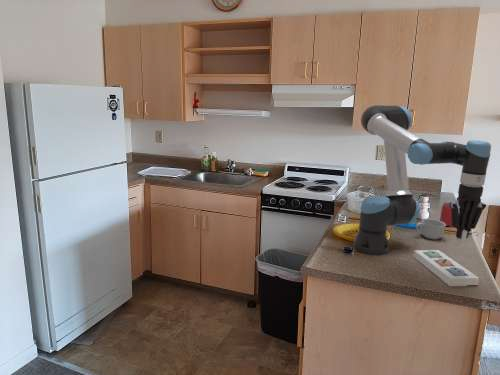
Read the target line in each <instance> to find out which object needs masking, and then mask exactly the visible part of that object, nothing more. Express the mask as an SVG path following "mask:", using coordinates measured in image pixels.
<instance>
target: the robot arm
mask: <svg viewBox="0 0 500 375" xmlns="http://www.w3.org/2000/svg"><path fill="white" fill-rule="evenodd" d="M412 121H413V120H412V115H411V112H410V110H409V109H408V108H406V106H401V105H400V106H399V105H396V104H395V105H381V104H380V105H371V106H369V107H367V108H366V109H365V110H364V111H363V113H362V114H361V117H360V123H361V126H362V128H363V129H364V130H365V131H366V132H367V133H368V134H370V135H373V136H378V137H380V139H382V140H383V145H384V146H383V147H384V156H385V167H386V177H387V179H386V180H387V190H388V191H387V192H386V194H385V195H384V196H383V195H371V196H370V195H369V196H367V197H365V198H363V200H362V202H361V206H360V215H359V217H360V218H359V223H358V224H359V226H358V231H357V234H356V236H355V238H354V240H353V244H352V245H353V248H354V249H355V250H356V251H359V252H360V253H363V254H367V255H374V256H375V255H376V256H377V255H378V256H379V255H385V254H387V253H388V252H389V247H390V246H389V241H388V237H387V228H388V226H398V225H407V224H413V223H414V222H415V221H417V219H418V218H419V216H420V213H421V212H420V211H421V206H420V203H419V201H418V200H417V199H416V198H414V196H413V194H414V193H413V192H412V191H410V188H409V189H408V187H409V186H408V178H407V176H408V170H407V159H406V154H407V158H408V160H409V161H410V162H409V163H412V164H413V165H422V166H423V165H433V164H434V165H435V164H438V165H441V164H455V165H458V166H462V168H461V174H460V180H459V182H460V184H458V185H459V186H458V191H457V193H458V196H457V198H456V200H455V201H454V202H449V203H450V204H449V205H450V207H451V212H452V227H453V228H455V229H456V233H455V237H456V238H457V239H456V242H455V245H456V246H458V247H459V248H461V249H462V248H465V246H466V240H467V239H468V238H469V233H470V232H471V231H472V230H474V229H476V227H477V224H478V222H479V220H480V218H481V215H482V214H483V211H484V210H485V209H486V208H487V204H485V203H484V202H482V199H481V197H482V196H483V193H484V185H485V182H486V176H487V170H488V166H489V162H490V157H491V150H492V144H491V143H490V142H489V141H484V140H473V139H472V140H467V142H466V144H464V143H457V142H454V141H442V142H428V141H427V140H424V138H421V137H419V135H416V134H414V133H412V132H411V131H409V129H410V128H411V125H412V123H413V122H412Z"/></svg>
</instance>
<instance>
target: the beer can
mask: <svg viewBox="0 0 500 375" xmlns="http://www.w3.org/2000/svg"><path fill="white" fill-rule="evenodd" d="M449 204H450V202H444V203H443V205H442V206H441V211H440V219H439V221H442V222H444V223H445V224H446V226H452V212H451V207H450V205H449ZM452 227H453V226H452Z"/></svg>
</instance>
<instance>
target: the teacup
mask: <svg viewBox="0 0 500 375" xmlns="http://www.w3.org/2000/svg"><path fill="white" fill-rule="evenodd" d="M420 226H421V227H420ZM445 226H446V224H445V223H444V222H442V221H440V219H435V218H423V219H421V222H417V223H416V224H415V229H416V230H417V231H418V232H419V233H420V234H421V235H422V236H424V237H425V238H426V239H429V240H439V239H441V238H442V237H443V236H444V234H445V229H446V227H445ZM419 227H420V228H419Z"/></svg>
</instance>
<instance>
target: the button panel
mask: <svg viewBox="0 0 500 375" xmlns="http://www.w3.org/2000/svg"><path fill="white" fill-rule="evenodd" d="M427 251H435V252H438V253H439V254H440V257H439V258H429V257H428V256H427V255H426V254H427ZM413 258H414V259H415V260H417V261H418V262H419V263H420V264H422V265H423V266H424V267H425V268H427V269H428V270H429V271H430V272H431V273H433V274H434V275H435V276H436V277H438V279H440V280H441V281H442V282H444V283H445V284H446V285H448V286H449V287H468V286H467V285H478V286H479V282H480V281H479V280H480V277H478V276H477V275H476V274H474V273H473V272H472V271H469V270H468V269H467V268H466V267H464V266H462V265H461V264H460V263H459V262H456V261H455V260H454V259H453V258H450V256H448V255H447V254H445V253H444V252H442V251H440V250H439V249H432V250H431V249H428V250H427V249H425V250H424V249H423V250H422V249H421V250H420V249H419V250H417V249H416V250H413ZM438 259H447V260H449V261H451V262H452V264H451V266H448V267H441V266H440V265H439V264H437V261H438ZM452 267H455V268H460V269H462V270H464V272H465V273H464V276H453V275H452V274H451V273H449V270H450V268H452Z"/></svg>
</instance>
